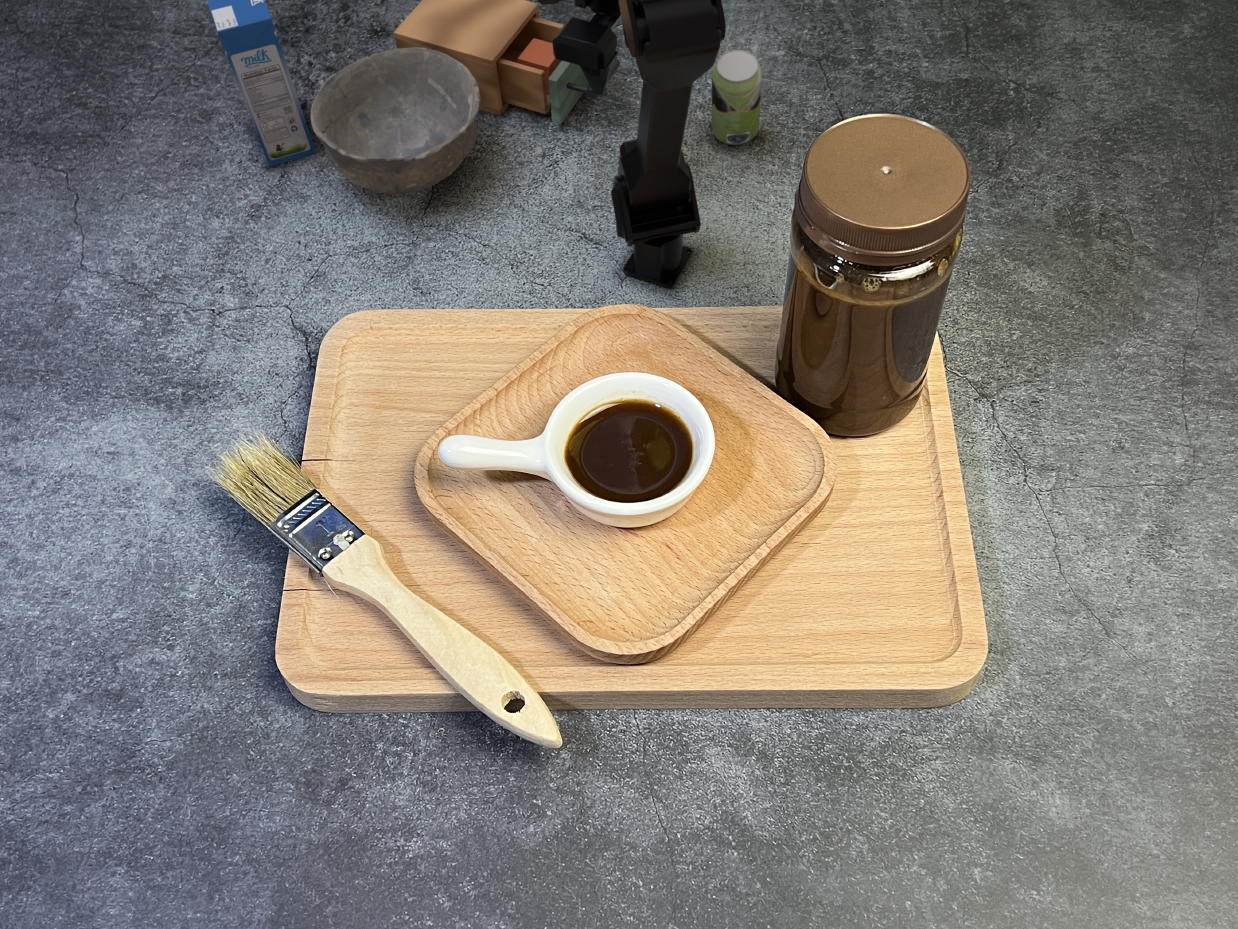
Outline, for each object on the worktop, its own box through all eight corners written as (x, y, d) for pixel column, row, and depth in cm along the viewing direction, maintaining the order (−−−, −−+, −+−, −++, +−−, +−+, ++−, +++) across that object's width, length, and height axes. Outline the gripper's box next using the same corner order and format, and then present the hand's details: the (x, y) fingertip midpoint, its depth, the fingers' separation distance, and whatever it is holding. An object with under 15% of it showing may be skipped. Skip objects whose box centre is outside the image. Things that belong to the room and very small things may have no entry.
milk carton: (316, 153, 142) (271, 17, 126) (269, 167, 141) (217, 31, 125) (299, 106, 148) (253, -31, 131) (253, 119, 146) (201, -17, 130)
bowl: (395, 91, 149) (379, 27, 140) (522, 142, 143) (513, 77, 134) (296, 186, 139) (273, 123, 131) (427, 245, 133) (412, 182, 125)
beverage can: (758, 118, 144) (766, 38, 134) (757, 157, 140) (764, 78, 130) (710, 116, 144) (714, 36, 134) (707, 154, 140) (711, 76, 130)
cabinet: (543, 58, 151) (538, 3, 144) (500, 115, 145) (492, 60, 138) (451, 33, 155) (441, -23, 148) (405, 87, 149) (393, 32, 142)
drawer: (627, 80, 147) (626, 36, 141) (590, 133, 142) (587, 90, 136) (510, 47, 152) (504, 3, 146) (469, 97, 146) (462, 54, 140)
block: (551, 95, 144) (548, 66, 140) (521, 87, 145) (517, 58, 142) (566, 75, 146) (564, 46, 143) (536, 66, 148) (533, 37, 144)
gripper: (580, -115, 123) (587, 9, 136) (501, -22, 114) (518, 101, 127) (671, -94, 121) (670, 31, 134) (598, 2, 112) (605, 126, 125)
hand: (615, 70), depth 130 cm, fingers open, 9 cm apart
